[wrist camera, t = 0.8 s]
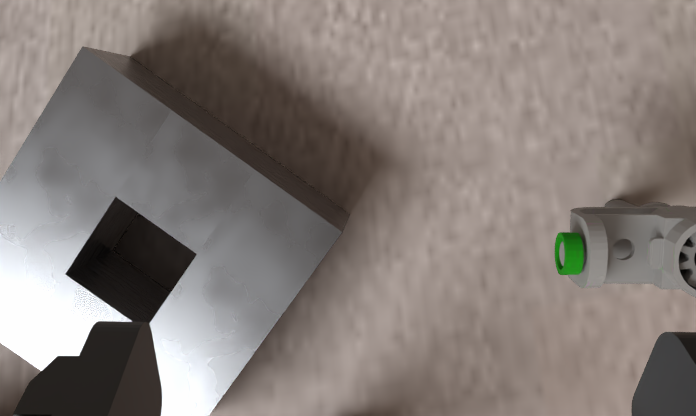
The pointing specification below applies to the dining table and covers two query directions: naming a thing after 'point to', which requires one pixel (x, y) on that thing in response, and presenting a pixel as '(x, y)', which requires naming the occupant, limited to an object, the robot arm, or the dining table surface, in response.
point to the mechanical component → (630, 246)
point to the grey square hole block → (165, 212)
